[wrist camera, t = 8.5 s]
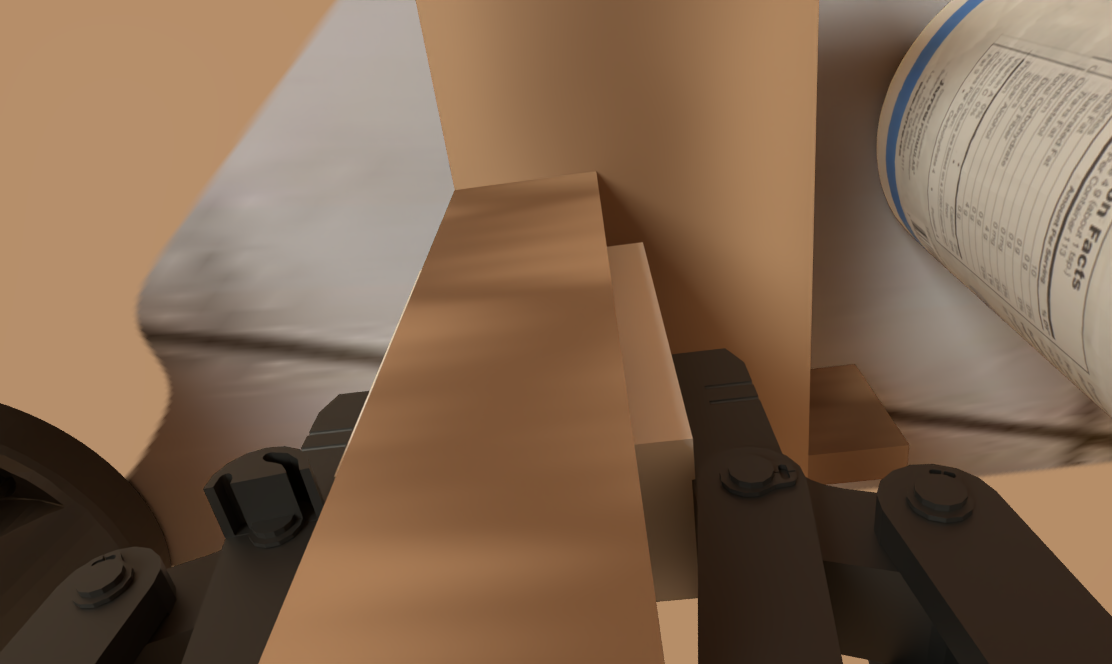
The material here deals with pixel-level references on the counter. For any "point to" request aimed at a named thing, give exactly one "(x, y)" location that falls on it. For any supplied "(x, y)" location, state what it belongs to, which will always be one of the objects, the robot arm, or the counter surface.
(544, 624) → the wooden bracket
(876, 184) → the counter surface
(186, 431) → the counter surface
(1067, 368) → the supplement tub
